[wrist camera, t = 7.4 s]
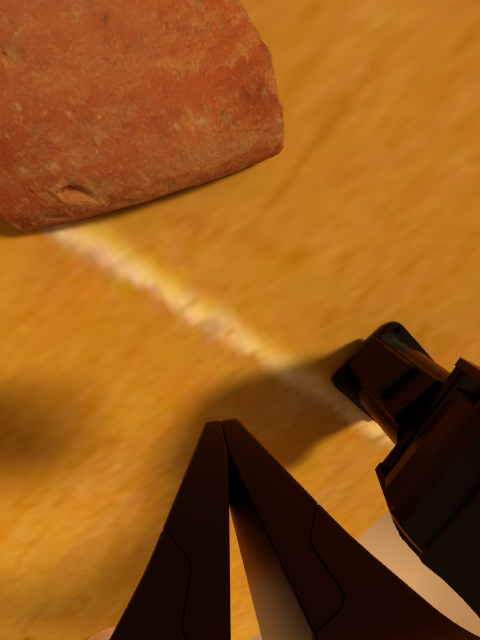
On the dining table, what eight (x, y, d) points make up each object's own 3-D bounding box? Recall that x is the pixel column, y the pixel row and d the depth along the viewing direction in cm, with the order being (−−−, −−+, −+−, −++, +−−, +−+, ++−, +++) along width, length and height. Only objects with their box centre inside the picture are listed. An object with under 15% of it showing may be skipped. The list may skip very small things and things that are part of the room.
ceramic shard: (218, -484, 8) (299, 161, 16) (181, -227, 13) (254, 158, 21) (-531, -501, 6) (-9, 256, 14) (-215, -186, 11) (29, 226, 19)
